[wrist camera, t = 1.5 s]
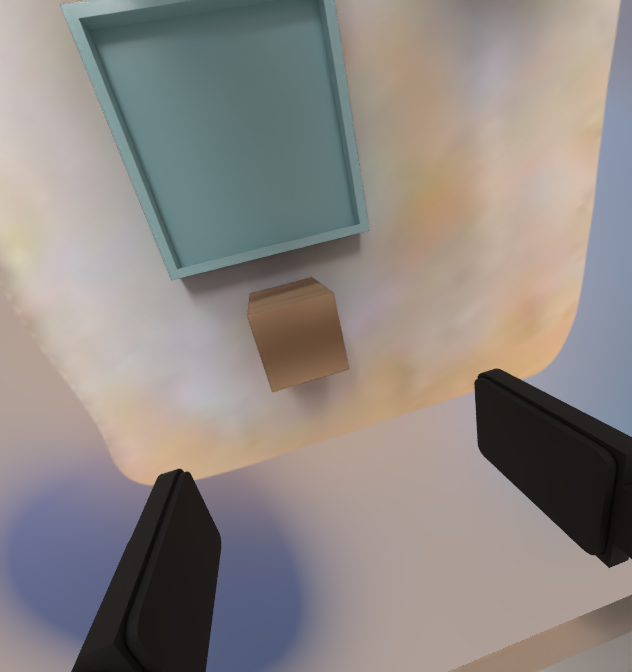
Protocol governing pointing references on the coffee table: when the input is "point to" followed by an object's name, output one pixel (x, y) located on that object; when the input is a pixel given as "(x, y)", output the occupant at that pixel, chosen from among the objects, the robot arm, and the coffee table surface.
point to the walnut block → (297, 333)
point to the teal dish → (227, 122)
